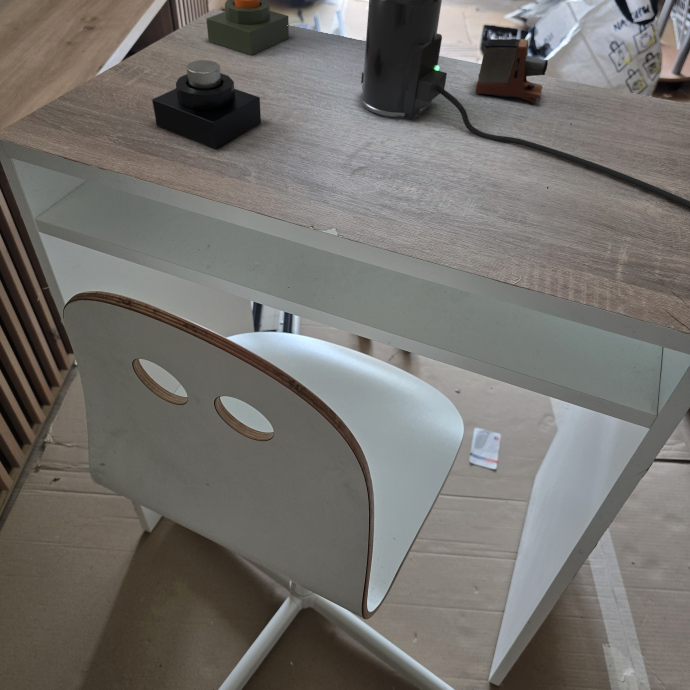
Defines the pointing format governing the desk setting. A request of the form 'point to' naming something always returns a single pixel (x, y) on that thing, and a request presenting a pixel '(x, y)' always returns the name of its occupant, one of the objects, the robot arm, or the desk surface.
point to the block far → (247, 27)
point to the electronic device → (509, 70)
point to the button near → (204, 75)
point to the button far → (247, 3)
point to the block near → (207, 112)
